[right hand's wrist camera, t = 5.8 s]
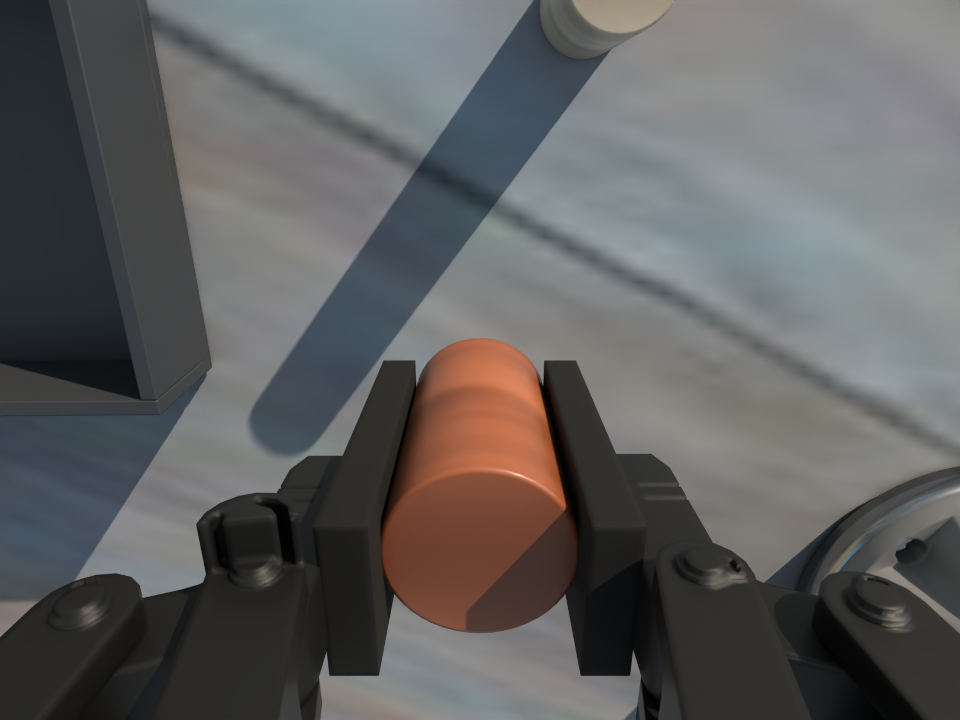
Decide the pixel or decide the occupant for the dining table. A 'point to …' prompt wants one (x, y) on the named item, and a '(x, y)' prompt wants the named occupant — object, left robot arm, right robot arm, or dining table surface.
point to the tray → (90, 218)
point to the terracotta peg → (479, 495)
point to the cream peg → (597, 23)
